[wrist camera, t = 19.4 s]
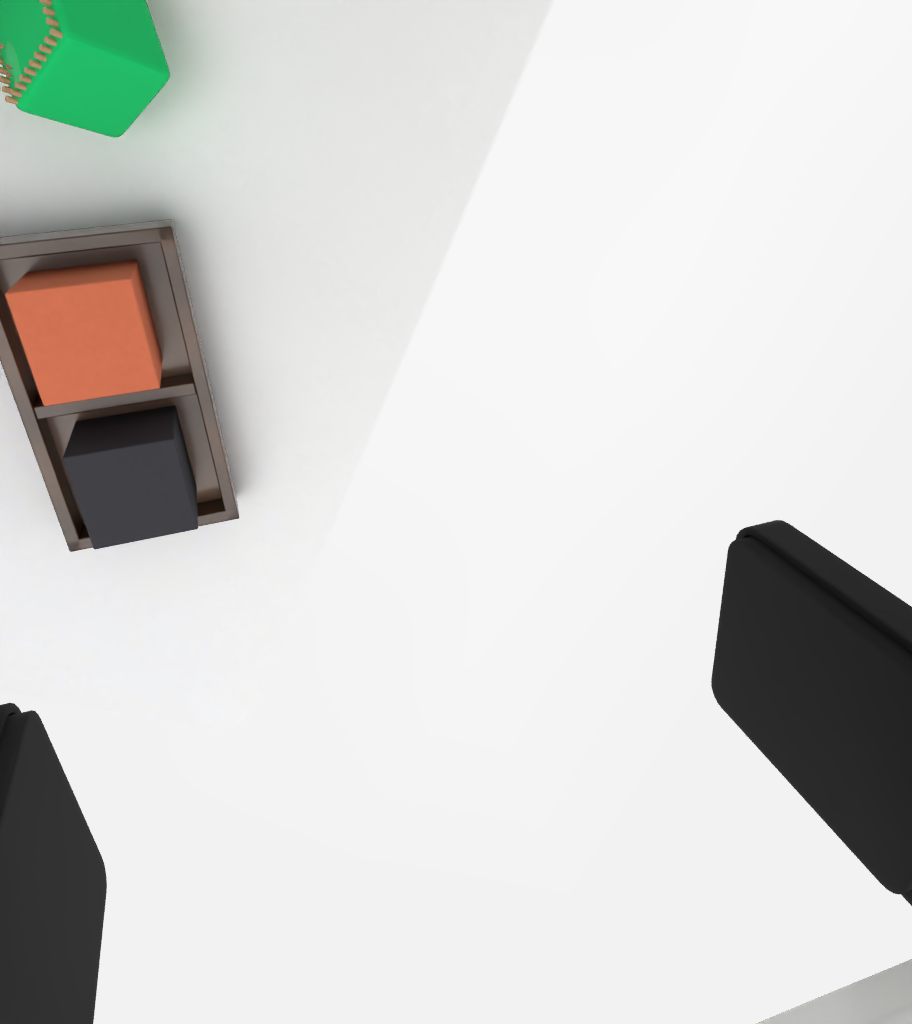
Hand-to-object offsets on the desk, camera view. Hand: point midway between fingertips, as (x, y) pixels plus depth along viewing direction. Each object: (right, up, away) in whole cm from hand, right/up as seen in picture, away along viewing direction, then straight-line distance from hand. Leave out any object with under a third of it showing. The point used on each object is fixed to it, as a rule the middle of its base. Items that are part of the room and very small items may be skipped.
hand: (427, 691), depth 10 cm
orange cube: (-15, +11, +23) cm, 30 cm away
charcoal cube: (-15, +5, +27) cm, 31 cm away
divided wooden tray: (-16, +9, +26) cm, 31 cm away
